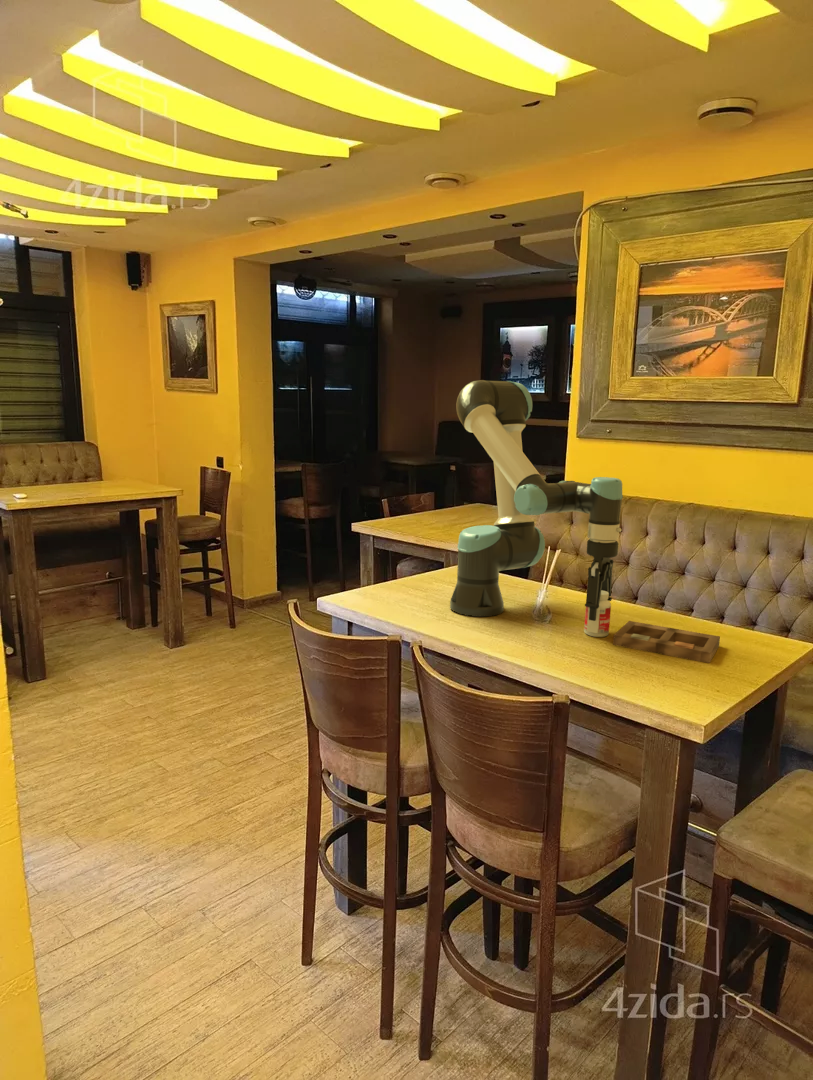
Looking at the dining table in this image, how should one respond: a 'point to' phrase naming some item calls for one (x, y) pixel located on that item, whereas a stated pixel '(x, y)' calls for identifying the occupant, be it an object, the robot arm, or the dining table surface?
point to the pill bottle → (601, 616)
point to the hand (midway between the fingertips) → (596, 628)
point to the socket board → (667, 641)
